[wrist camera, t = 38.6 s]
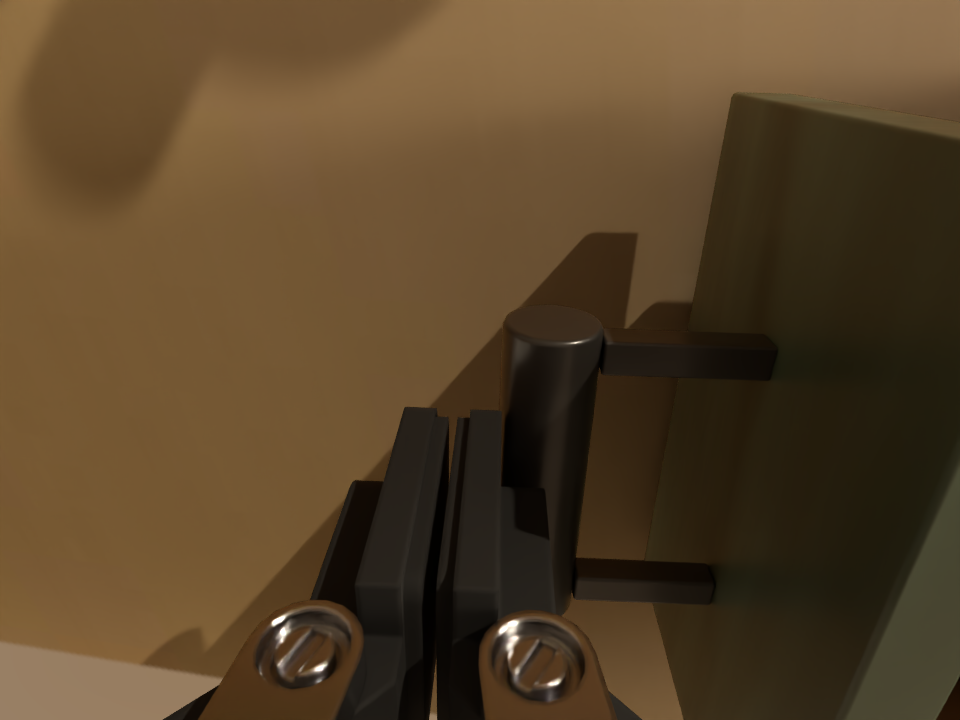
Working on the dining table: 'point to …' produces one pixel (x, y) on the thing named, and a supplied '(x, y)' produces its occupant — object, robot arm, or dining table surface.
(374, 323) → the dining table surface
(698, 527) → the drawer
